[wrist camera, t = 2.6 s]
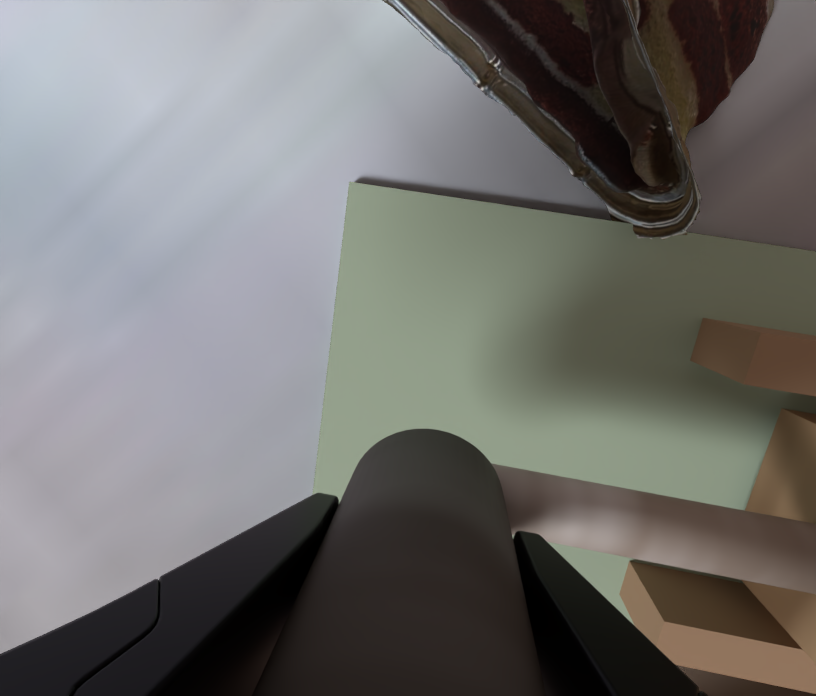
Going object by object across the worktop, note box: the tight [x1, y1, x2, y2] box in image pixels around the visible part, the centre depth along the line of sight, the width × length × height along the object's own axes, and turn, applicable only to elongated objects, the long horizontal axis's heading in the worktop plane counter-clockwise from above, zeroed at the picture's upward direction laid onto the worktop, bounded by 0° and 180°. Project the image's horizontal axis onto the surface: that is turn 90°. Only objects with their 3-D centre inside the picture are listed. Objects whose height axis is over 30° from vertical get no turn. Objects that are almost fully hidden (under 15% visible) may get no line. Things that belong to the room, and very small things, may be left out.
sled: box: [252, 408, 816, 696], centre depth 8 cm, size 5×15×10 cm, turn 81°
